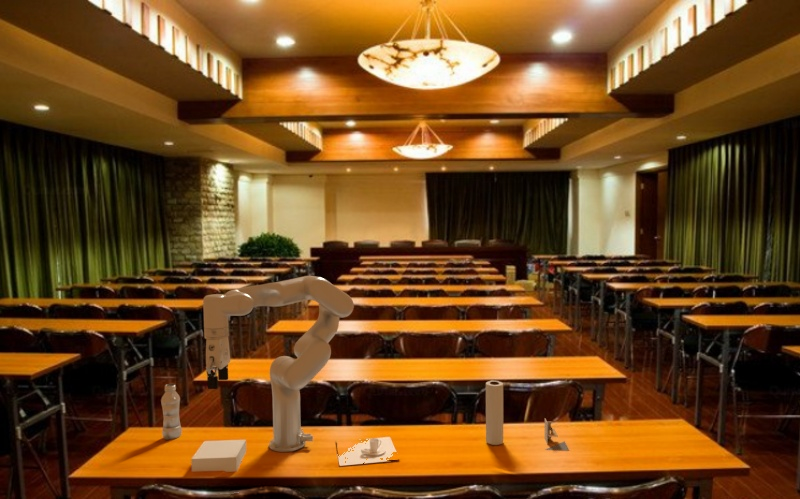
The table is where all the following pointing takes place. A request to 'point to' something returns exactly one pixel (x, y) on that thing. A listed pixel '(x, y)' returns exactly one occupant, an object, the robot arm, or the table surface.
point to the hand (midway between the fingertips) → (218, 384)
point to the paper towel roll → (494, 412)
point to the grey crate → (219, 456)
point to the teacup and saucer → (368, 452)
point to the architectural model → (553, 434)
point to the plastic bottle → (171, 413)
